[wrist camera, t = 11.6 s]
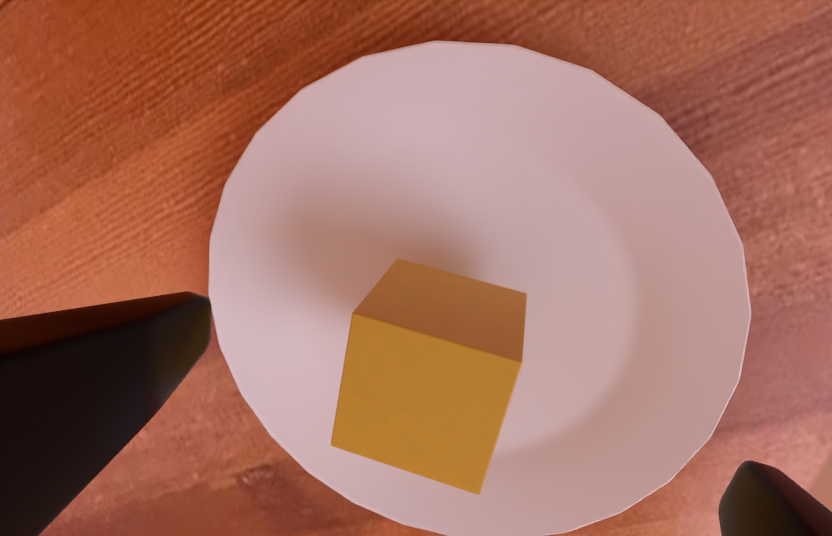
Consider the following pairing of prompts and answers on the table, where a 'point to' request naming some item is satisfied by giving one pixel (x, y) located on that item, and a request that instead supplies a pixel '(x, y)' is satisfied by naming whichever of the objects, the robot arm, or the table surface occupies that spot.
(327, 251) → the plate
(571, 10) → the table surface
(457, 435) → the top block
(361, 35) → the table surface
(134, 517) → the table surface
